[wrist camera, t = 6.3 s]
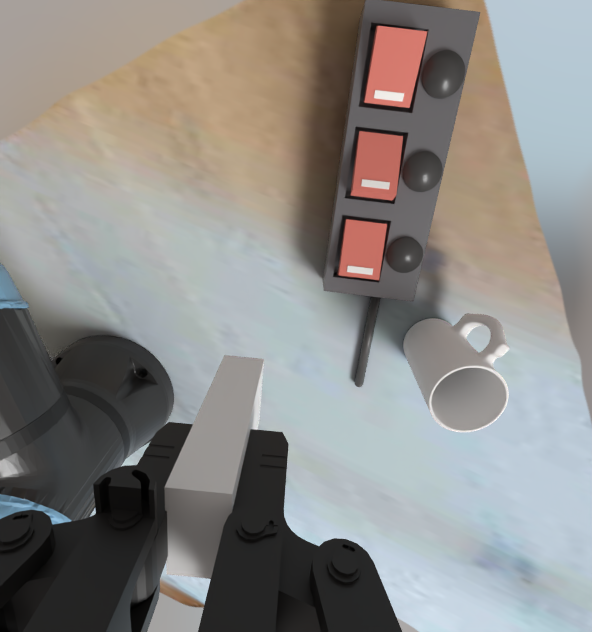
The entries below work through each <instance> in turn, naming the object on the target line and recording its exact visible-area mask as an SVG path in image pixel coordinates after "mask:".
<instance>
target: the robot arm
mask: <svg viewBox="0 0 592 632" xmlns="http://www.w3.org/2000/svg"><path fill="white" fill-rule="evenodd" d="M27 308H29V306H28V303H27V302H25V301H24V300H23V299H22V297H21V295H20V293H19V291H18V289H17V288H16V286H15V284H14V282H13V280H12V278H11V277H10V275H9V273H8V271H7V269H6V268H5V267H4V266H3V265H2V264H1V263H0V632H147V630H148V627H149V624H150V622H151V619H152V616H153V613H154V610H155V607H156V604H157V601H158V598H159V591H160V577H161V574H162V571H163V568H164V566H165V563H166V566H167V574H168V575H178V576H188V577H199V578H209V579H211V581H210V585H209V589H208V593H207V597H206V601H205V606H204V610H203V614H202V618H201V623H200V626H199V630H198V632H402V630H401V628H400V625H399V623H398V621H397V618H396V616H395V613H394V611H393V608H392V606H391V603H390V601H389V599H388V596H387V594H386V591H385V589H384V586H383V584H382V582H381V579H380V577H379V574H378V572H377V569H376V567H375V565H374V562H373V561H372V559H371V558H370V556H369V554H368V553H367V552H366V551H365V550H364V549H363V548H362V547H361V546H359V545H358V544H357V543H354V542H352V541H349V540H347V539H335V538H334V539H331V540H328V541H325V542H323V543H322V544H321V545H320V546H317V545H314V544H312V543H310V542H307V541H305V540H303V539H302V538H300V537H298V536H297V535H296V534H295V533H294V532H292V531H291V529H290V528H289V526H288V525H287V523H286V521H285V518H284V497H285V484H286V469H287V456H288V442H287V440H286V438H285V436H284V434H283V432H274V431H264V430H257V429H258V424H259V418H260V405H261V392H262V380H263V367H264V359H257V358H247V357H237V356H228V355H224V358H223V360H222V362H221V364H220V366H219V369H218V371H217V373H216V375H215V377H214V380H213V382H212V384H211V386H210V388H209V391H208V393H207V395H206V397H205V399H204V402H203V404H202V406H201V408H200V410H199V412H198V415H197V417H196V419H195V421H194V423H193V424H183V423H173V422H169V423H167V424H166V425H165V423H166V422H167V420H168V418H169V416H170V414H171V412H172V408H173V403H174V393H173V387H172V384H171V381H170V378H169V376H168V374H167V372H166V371H165V369H164V368H163V366H162V365H161V364H160V362H159V361H158V360H157V359H156V358H155V357H154V356H153V355H152V354H151V353H149V352H148V351H147V350H145V349H144V348H142V347H141V346H139V345H137V344H135V343H133V342H131V341H128V340H125V339H122V338H118V337H113V336H92V337H88V338H84V339H81V340H79V341H77V342H75V343H73V344H72V345H71V346H69V347H68V348H66V349H65V350H64V351H62V352H61V353H60V354H59V355H57V356H56V357H55V359H54V360H53V361H51V359H50V357H49V355H48V353H47V350H46V348H45V346H44V344H43V342H42V340H41V337H40V335H39V333H38V331H37V329H36V327H35V325H34V322H33V320H32V318H31V316H30V313H29V311H28V309H27ZM164 425H165V426H164ZM150 441H151V442H150ZM149 442H150V444H149V447H147V449H146V450H145V452H144V454H143V457H141V459H140V461H139V463H138V464H137V465H133V466H122V467H121V465H122V464H123V462H124V461H125V459H126V458H127V457H129V456H130V455H131V454H133V453H134V452H135V451H137V450H138V449H139V448H141V447H142V446H144V445H146V444H147V443H149ZM94 508H96V514H95V515H94V516H91V517H89V516H90V515H91V513H92V512H93V510H94Z"/></svg>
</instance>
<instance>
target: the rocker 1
mask: <svg viewBox="0 0 592 632" xmlns="http://www.w3.org/2000/svg"><path fill="white" fill-rule="evenodd" d="M426 36H427V31H418V30H410V29H402V28H394V27H385V26H376V30H375V36H374V42H373V47H372V53H371V59H370V65H369V70H368V76H367V82H366V88H365V93H364V99H363V101H364V103H372V104H380V105H389V106H397V107H405V108H410V104H411V99H412V95H413V91H414V87H415V82H416V78H417V74H418V70H419V65H420V61H421V57H422V53H423V48H424V44H425V40H426Z"/></svg>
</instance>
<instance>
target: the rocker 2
mask: <svg viewBox="0 0 592 632" xmlns="http://www.w3.org/2000/svg"><path fill="white" fill-rule="evenodd" d="M402 142H403V136H397V135H388V134H380V133H372V132H363V131H359V134H358V137H357V143H356V152H355V160H354V169H353V177H352V186H351V194H350V195H351V196H359V197H368V198H376V199H384V200H393V199H394V198H395V196H396V195H397V186H398V177H399V168H400V159H401V150H402Z"/></svg>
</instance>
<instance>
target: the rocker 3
mask: <svg viewBox="0 0 592 632" xmlns="http://www.w3.org/2000/svg"><path fill="white" fill-rule="evenodd" d="M386 229H387V224H382V223H373V222H365V221H357V220H349V219H346V220H345V223H344V230H343V238H342V245H341V253H340V260H339V268H338V275H340V276H348V277H357V278H365V279H373V280H379V277H380V270H381V263H382V256H383V249H384V242H385V235H386Z"/></svg>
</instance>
